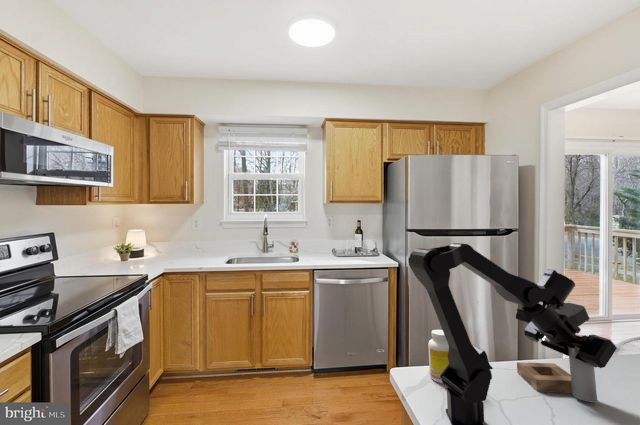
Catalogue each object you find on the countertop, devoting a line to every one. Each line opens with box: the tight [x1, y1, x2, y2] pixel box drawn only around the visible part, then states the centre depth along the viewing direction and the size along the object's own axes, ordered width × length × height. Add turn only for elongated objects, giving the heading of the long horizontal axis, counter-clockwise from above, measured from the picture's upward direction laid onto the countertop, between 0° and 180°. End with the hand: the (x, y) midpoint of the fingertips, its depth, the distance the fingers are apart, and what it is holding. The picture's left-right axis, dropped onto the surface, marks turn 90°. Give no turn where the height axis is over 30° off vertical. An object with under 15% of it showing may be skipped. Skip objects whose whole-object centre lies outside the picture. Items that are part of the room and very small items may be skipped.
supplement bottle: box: [427, 329, 449, 384], centre depth 87 cm, size 7×7×13 cm
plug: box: [568, 333, 598, 403], centre depth 75 cm, size 5×5×14 cm
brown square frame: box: [516, 361, 572, 394], centre depth 83 cm, size 10×10×3 cm
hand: (586, 361), depth 75 cm, fingers closed on plug, 5 cm apart
